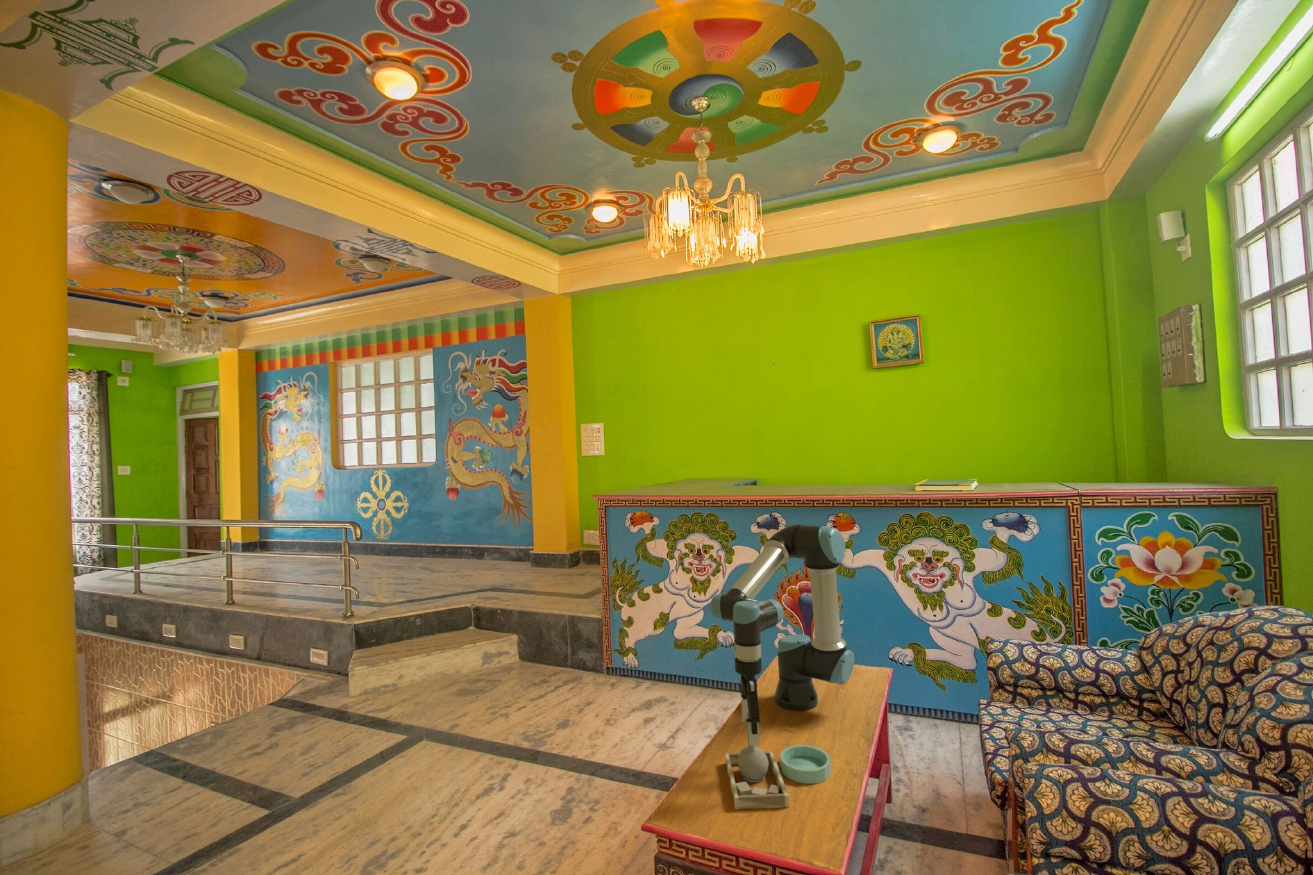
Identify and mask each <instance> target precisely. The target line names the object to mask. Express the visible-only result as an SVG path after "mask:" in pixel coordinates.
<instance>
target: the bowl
mask: <svg viewBox="0 0 1313 875" xmlns="http://www.w3.org/2000/svg"><path fill="white" fill-rule="evenodd" d="M779 763H780V764H779V766H780V768H779V769H780V770H781V771H780V772H781V774H783V776H784V777H786V778H787V779H789V780H792V781H793V782H796V783H801V784H807V785H811V784H820V783H823V782H825V781H827V780H828V779H829V778H830V777H831V775H832V759H831V757H830V755H829V752H826V751H825V750H823V749H822V748H819V747H816V746H815V745H814V746H813V745H808V744H796V745H791V746H787V747H786V748H783V750H782V751H781V752H780V755H779Z"/></svg>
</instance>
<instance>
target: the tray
mask: <svg viewBox="0 0 1313 875" xmlns="http://www.w3.org/2000/svg"><path fill="white" fill-rule="evenodd" d="M763 752H764V753H765V755H766V756H767V759H768V762H769V765H770V767H771V771H772V773H773V775H774V778H775V782H776V784H777V786H780V794H768V793H767V794H761V795H738V793H737V788H736V781H735V775H734V771H733V766H738V763H737V761H738V756H739V754H740V752H729V753H728V752H726V753H724V755H725V757H724V759H725V766H726V772H727V776H728V782H729V785H730V786H729V787H730V791H731V795H732V801H733V806H734V809H735V810H752V809H756V810H757V809H776V808H777V809H778V808H779V809H780V808H789V807H790V795H789V792H788V791H787V787H786V785H785V781H784V778H783V777H782V772H781V771H780V768H779V766H778V763H777V760H776V758H775V755H774V752H773V750H772V751H771V750H770V751H763Z"/></svg>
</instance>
